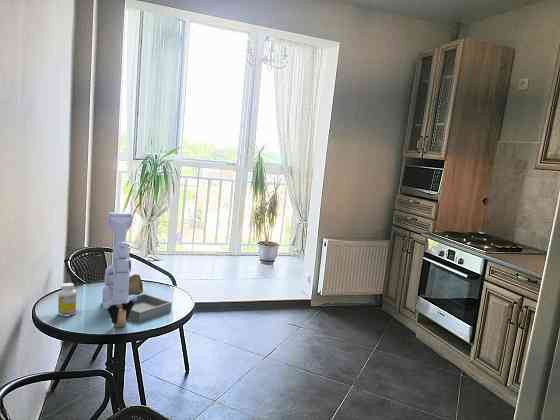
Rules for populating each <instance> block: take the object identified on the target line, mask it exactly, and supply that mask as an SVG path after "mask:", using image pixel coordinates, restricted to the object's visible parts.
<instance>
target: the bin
mask: <svg viewBox="0 0 560 420" xmlns="http://www.w3.org/2000/svg"><path fill="white" fill-rule="evenodd" d="M132 302H134V306H133V307H132V309H131V311H130V313H129V316H128V319H131V320H133V321H135V322H139V323H141V322H143V321H146V320H149V319H152V318H155V317H157V316H158V317H159V316H160V315H163V314H166V313H167V314H168V313H169V312H172V306H173V305H172V304H173V303H172V301H169V300H165V299H162V298H160V297H156V296H153V295H152V294H151V295H150V294H147V293H140V294H138V295H137V300H133V301H132ZM116 306H117V307H118V308H122V304H119V305H116Z"/></svg>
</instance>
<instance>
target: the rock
mask: <svg viewBox="0 0 560 420" xmlns="http://www.w3.org/2000/svg"><path fill="white" fill-rule="evenodd" d="M143 287H144V286H143V282H142V279H141V277H140V274H132V275H131V276H130V275H129V294H142V293H143V292H144V288H143Z"/></svg>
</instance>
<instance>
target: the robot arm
mask: <svg viewBox="0 0 560 420" xmlns="http://www.w3.org/2000/svg"><path fill="white" fill-rule="evenodd" d="M132 226H133V213H132V212H113V211H109V212H108V213H107V229H109V230H112V234H113V235H112V237H113V239H112V258H111V259H112V260H111V264H110V265H109V266H108V267H107V268H105V271H104V272H105V273H104V287H103V290H102V301H101V302H100V305H102V308H104V310H105V309H106V310H107V312H108V313H109V317H110V319H111V323H112V324H113V325H114V324H117V316H118V312H119V309H120V308H118V307H117V306H116V305H119V304H122V308H124V309H126V321H128V319H129V318H128V316H129V313H130V311H131V309H132V307H133V306H134V302H132V301H133V300H137V295H136V294H130V293H129V277H130V273H131V270H132V260H131V256H130V246H129V244H128V242H127V241H126V240H127V231H128V230H129V229H131V227H132ZM129 294H130V295H129Z"/></svg>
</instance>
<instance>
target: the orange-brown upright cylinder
mask: <svg viewBox="0 0 560 420" xmlns="http://www.w3.org/2000/svg"><path fill="white" fill-rule="evenodd" d="M126 324H127V320H126V309H124V308H120V309H119V312H118V316H117V324H114V323H113V326H114V327H115V328H121V327H125V326H126Z"/></svg>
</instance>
